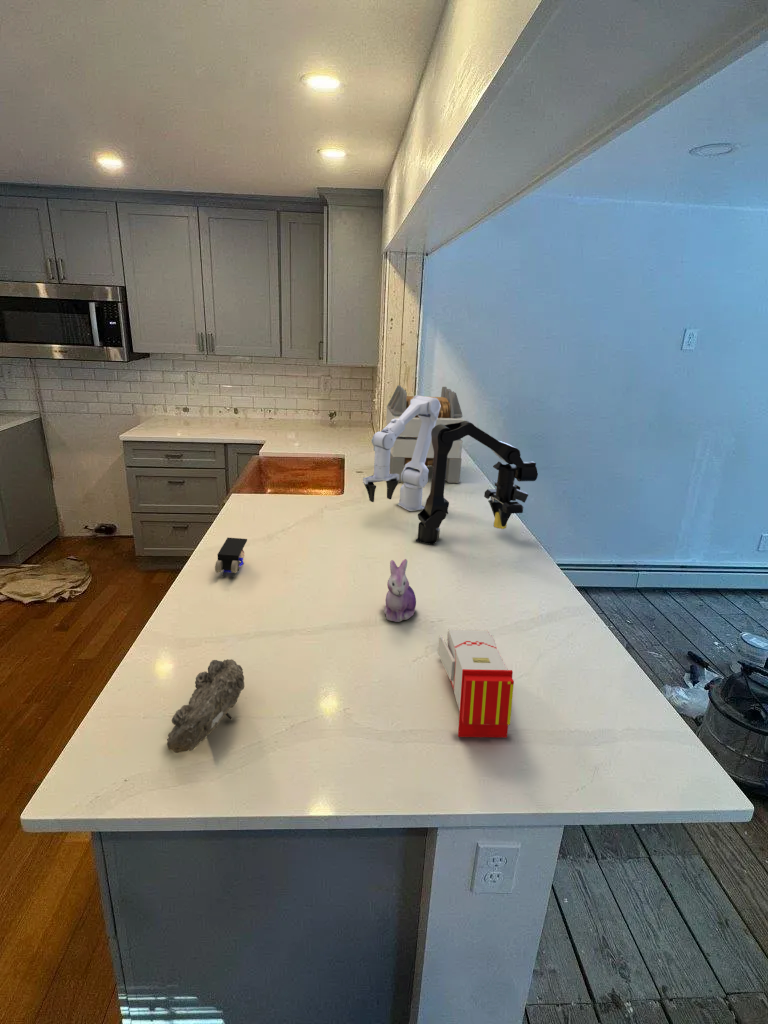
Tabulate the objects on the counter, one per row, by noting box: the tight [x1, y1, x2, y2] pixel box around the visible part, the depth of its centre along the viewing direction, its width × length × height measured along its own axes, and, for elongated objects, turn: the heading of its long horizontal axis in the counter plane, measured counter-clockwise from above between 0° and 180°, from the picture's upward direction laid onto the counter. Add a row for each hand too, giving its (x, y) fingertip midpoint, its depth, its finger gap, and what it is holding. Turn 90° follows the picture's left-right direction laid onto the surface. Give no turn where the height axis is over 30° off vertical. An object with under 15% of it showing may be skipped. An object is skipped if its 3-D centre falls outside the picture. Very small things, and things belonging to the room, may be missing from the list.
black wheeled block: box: [214, 537, 248, 578], centre depth 166 cm, size 7×8×15 cm
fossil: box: [166, 658, 245, 754], centre depth 106 cm, size 22×10×15 cm
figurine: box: [384, 558, 417, 623], centre depth 145 cm, size 9×10×15 cm
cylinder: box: [493, 512, 508, 530], centre depth 199 cm, size 4×4×5 cm
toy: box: [437, 628, 515, 738], centre depth 117 cm, size 12×13×30 cm
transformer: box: [385, 384, 466, 484], centre depth 268 cm, size 34×33×41 cm
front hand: (500, 523), depth 200 cm, fingers closed on cylinder, 4 cm apart
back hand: (380, 499), depth 211 cm, fingers open, 7 cm apart
